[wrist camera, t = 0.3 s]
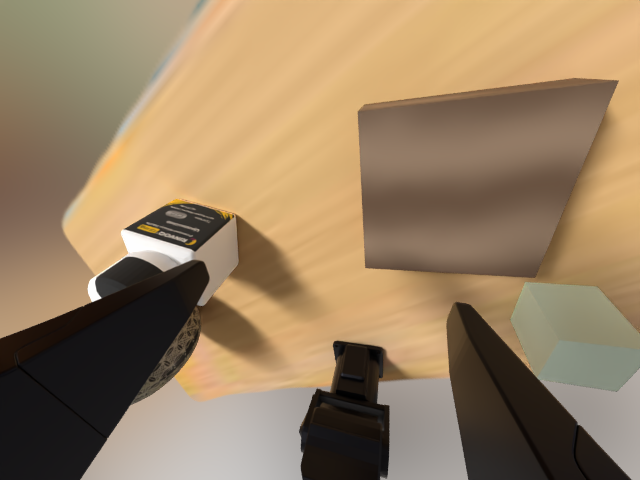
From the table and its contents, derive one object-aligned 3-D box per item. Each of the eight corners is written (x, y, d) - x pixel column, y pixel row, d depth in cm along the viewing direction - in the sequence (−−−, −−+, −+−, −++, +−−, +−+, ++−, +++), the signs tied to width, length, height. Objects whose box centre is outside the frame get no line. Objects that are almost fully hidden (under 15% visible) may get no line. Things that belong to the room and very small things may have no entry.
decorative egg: (213, 281, 34) (111, 398, 22) (223, 332, 41) (149, 443, 29) (139, 259, 35) (5, 357, 23) (160, 312, 42) (65, 408, 30)
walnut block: (514, 246, 21) (535, 277, 18) (369, 242, 25) (365, 267, 21) (571, 78, 15) (619, 80, 12) (365, 103, 18) (357, 111, 15)
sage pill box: (572, 325, 23) (617, 391, 19) (509, 319, 25) (536, 379, 20) (596, 286, 21) (655, 351, 16) (525, 281, 22) (559, 340, 17)
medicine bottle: (237, 213, 26) (143, 296, 17) (240, 263, 30) (166, 353, 21) (176, 196, 27) (55, 266, 18) (187, 247, 31) (94, 326, 22)
